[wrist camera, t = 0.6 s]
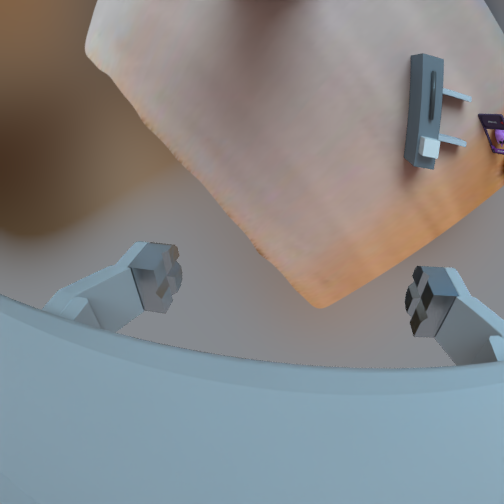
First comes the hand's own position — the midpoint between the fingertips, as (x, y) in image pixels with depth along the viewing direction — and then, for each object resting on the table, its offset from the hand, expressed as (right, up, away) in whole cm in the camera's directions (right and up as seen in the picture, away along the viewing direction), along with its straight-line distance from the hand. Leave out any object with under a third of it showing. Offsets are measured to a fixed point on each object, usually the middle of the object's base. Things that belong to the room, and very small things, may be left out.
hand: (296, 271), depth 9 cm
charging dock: (+33, +26, +31) cm, 52 cm away
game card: (+47, +25, +29) cm, 61 cm away
